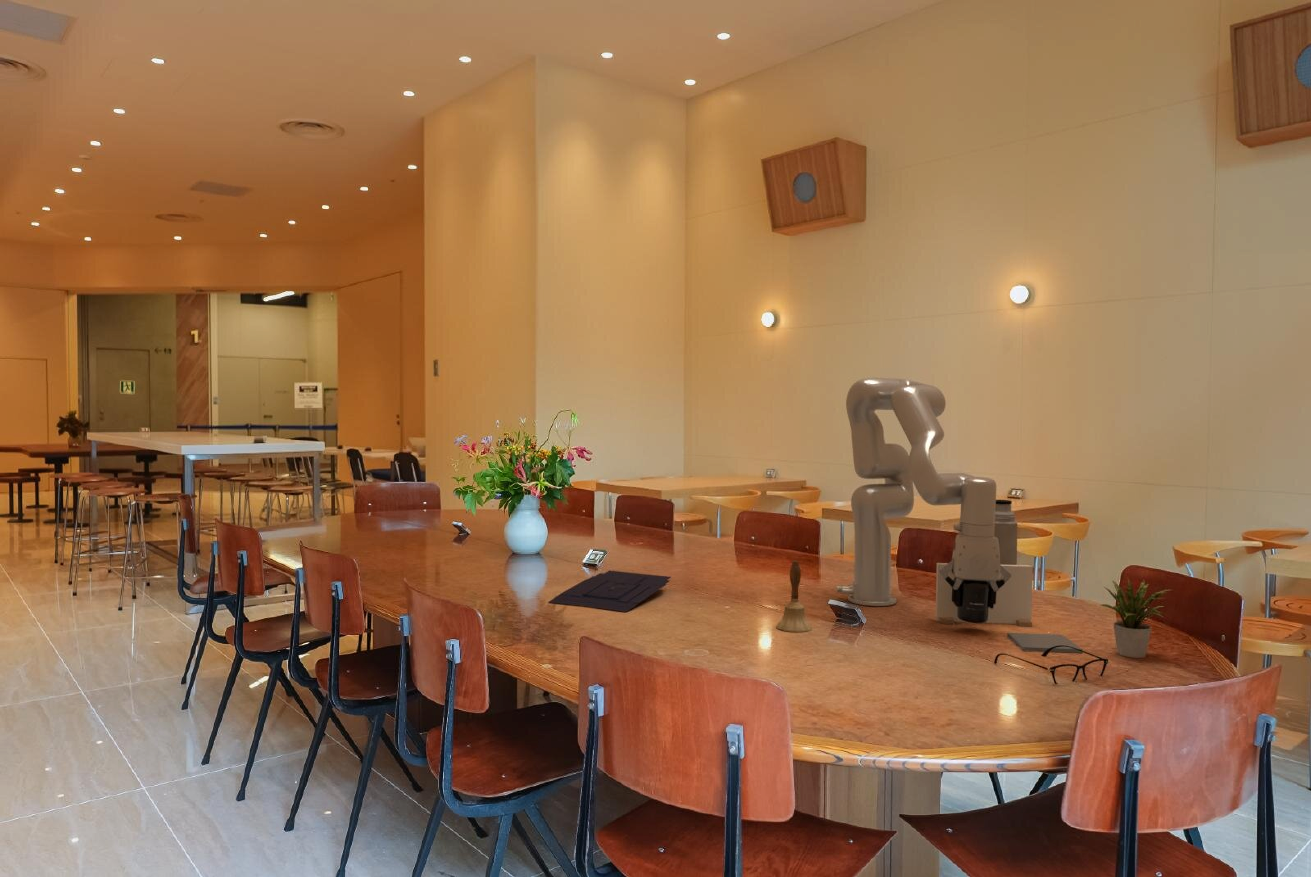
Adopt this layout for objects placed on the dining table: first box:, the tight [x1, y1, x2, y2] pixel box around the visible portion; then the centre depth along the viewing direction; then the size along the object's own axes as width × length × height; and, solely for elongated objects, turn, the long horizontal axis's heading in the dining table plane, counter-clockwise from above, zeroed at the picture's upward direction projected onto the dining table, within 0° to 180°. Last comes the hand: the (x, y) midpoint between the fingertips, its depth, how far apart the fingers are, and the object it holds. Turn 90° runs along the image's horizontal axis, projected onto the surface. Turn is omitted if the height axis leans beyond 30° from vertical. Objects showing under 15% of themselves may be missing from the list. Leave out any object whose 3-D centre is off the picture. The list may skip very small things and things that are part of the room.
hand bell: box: [775, 560, 813, 633], centre depth 200 cm, size 8×8×16 cm
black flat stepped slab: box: [548, 569, 672, 613], centre depth 234 cm, size 24×30×4 cm
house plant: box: [1099, 576, 1174, 659], centre depth 178 cm, size 14×14×16 cm
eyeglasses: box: [993, 645, 1110, 685], centre depth 169 cm, size 16×16×4 cm
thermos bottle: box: [994, 499, 1018, 565], centre depth 224 cm, size 8×8×28 cm
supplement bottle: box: [957, 580, 990, 624], centre depth 198 cm, size 7×7×12 cm
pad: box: [1006, 632, 1083, 654], centre depth 187 cm, size 12×12×1 cm
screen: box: [935, 562, 1033, 627], centre depth 207 cm, size 22×6×14 cm, turn 83°
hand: (973, 605), depth 198 cm, fingers closed on supplement bottle, 6 cm apart
